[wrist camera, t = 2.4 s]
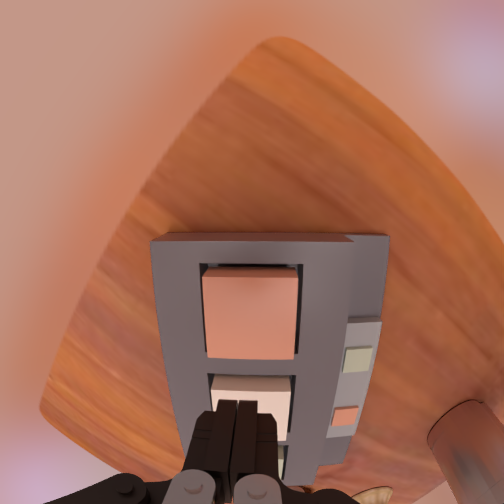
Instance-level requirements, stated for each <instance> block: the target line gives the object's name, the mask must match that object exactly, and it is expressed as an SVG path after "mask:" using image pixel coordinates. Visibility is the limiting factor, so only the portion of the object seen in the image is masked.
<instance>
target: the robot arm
mask: <svg viewBox="0 0 504 504" xmlns="http://www.w3.org/2000/svg"><path fill="white" fill-rule="evenodd" d="M427 442H428V445H429V447H430V449H431V450H432V452H433V454H434V456H435V458H436V460H437V462H438V464H439V466H440V468H441V470H442V472H443V474H444V476H445V478H446V480H447V482H448V484H449V486H450V488H451V490H452V492H453V494H454V496H455V498H456V500H457V503H458V504H504V426H503V424H502V423H501V422H500V421H499V419H498V418H497V417H496V416H495V415H494V413H493V412H492V411H491V410H490V408H489V407H488V406H487V405H486V404H485V403H479V402H477V401H475V400H472V401H467V402H464V403H462V404H460V405H458V406H457V407H455V408H453V409H452V410H451V411H449V412H448V413H447V414H446V415H445V416H443V417H442V418H441V419H440V420H439V421H438V422H437V423H436V425H435V426H434V427H433V429H432V430H431V432H430V434H429V436H428V441H427ZM232 496H233V503H234V504H360V503H359V502H357V501H356V500H354V499H353V498H351V497H350V496H348V495H347V494H345V493H344V492H342V491H339V490H336V489H322V490H319V491H316V492H314V493H313V494H310V493H304V492H299V491H295V490H293V489H290V488H288V487H287V486H286V485H284V484H283V482H282V481H281V479H280V477H279V468H278V435H277V422H276V420H275V418H274V417H273V415H272V414H271V413H258V400H239V403H238V400H227V399H219V400H218V403H217V408H216V411H204V412H203V413H202V414H201V415H200V416H199V417H198V418H197V420H196V423H195V427H194V431H193V434H192V439H191V441H190V445H189V448H188V452H187V455H186V459H185V462H184V466H183V469H182V471H181V472H180V473H178V474H177V475H175V476H174V478H173V479H170V480H167V481H162V482H143V480H142V479H141V478H139V477H138V476H136V475H133V474H129V473H121V474H117V475H114V476H112V477H110V478H108V479H105V480H103V481H101V482H99V483H96V484H94V485H92V486H89V487H87V488H85V489H82V490H80V491H77V492H75V493H72V494H69V495H67V496H64V497H61V498H59V499H56V500H53V501H50V502H47V503H44V504H224V503H231V502H232Z"/></svg>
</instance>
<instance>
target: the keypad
mask: <svg viewBox="0 0 504 504" xmlns="http://www.w3.org/2000/svg"><path fill="white" fill-rule="evenodd" d="M389 242H390V236H389V235H386V234H359V233H295V232H176V233H166V234H164V235H162V236H160V237H158V238H156V239H154V240H152V241H150V250H151V263H152V274H153V284H154V294H155V302H156V311H157V318H158V326H159V333H160V339H161V346H162V352H163V358H164V364H165V370H166V375H167V380H168V386H169V391H170V396H171V400H172V405H173V410H174V414H175V419H176V423H177V427H178V431H179V435H180V439H181V443H182V447H183V451H184V455H185V458H186V455H187V452H188V448H189V445H190V441H191V439H192V434H193V431H194V427H195V423H196V420H197V418H198V417H199V416H200V415H201V414H202V413H203V412H204V411H213V405H212V396H211V387H212V383H213V379H214V376H215V374H235V375H289V379H290V388H291V396H290V407H289V417H288V426H287V435H286V441H278V445H283V456H284V461H283V469H282V476H281V481H282V482H283V484H284V485H286V486H299V485H313V483H314V480H315V477H316V473H317V470H318V466H323V465H333V464H342V463H343V460H344V458H345V455H346V452H347V449H348V446H349V443H350V440H351V437H352V435H354V434H355V431H356V428H357V425H358V422H359V419H360V415H361V412H362V408H363V405H364V401H365V398H366V394H367V390H368V386H369V382H370V378H371V374H372V370H373V366H374V361H375V357H376V352H377V347H378V342H379V337H380V332H381V327H382V320H381V319H380V317H381V310H382V304H383V297H384V290H385V282H386V273H387V264H388V254H389ZM209 266H210V267H295V270H296V273H297V276H298V295H297V314H296V331H295V346H294V359H288V360H261V359H226V358H208V355H207V343H206V330H205V316H204V301H203V284H202V276H203V275H204V273H205V272H206V271H207V269H208V268H209Z"/></svg>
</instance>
